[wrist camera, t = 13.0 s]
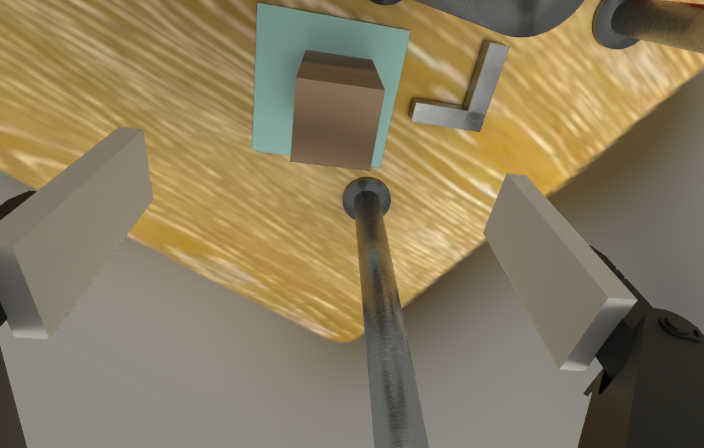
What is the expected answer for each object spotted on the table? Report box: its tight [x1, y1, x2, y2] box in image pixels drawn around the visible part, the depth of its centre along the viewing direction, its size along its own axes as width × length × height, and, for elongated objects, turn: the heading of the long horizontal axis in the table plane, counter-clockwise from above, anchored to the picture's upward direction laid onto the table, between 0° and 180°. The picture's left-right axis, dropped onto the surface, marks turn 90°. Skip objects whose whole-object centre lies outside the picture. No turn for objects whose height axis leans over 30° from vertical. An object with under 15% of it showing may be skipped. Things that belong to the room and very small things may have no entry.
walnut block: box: [290, 50, 385, 171], centre depth 27 cm, size 5×5×9 cm
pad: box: [252, 2, 410, 168], centre depth 31 cm, size 11×11×1 cm
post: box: [343, 177, 429, 448], centre depth 27 cm, size 4×4×24 cm
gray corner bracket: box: [408, 40, 509, 132], centre depth 31 cm, size 6×6×2 cm
